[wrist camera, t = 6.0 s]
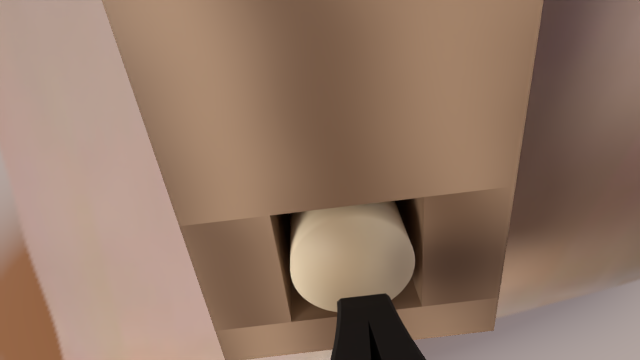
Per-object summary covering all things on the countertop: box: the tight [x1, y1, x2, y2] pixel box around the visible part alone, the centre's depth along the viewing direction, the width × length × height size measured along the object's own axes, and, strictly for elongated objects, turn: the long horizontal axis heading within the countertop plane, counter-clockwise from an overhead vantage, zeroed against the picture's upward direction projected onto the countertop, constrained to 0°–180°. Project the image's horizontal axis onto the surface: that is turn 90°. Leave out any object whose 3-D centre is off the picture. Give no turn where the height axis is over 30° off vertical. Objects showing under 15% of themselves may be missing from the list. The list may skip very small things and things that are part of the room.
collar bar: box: [102, 0, 544, 360], centre depth 13 cm, size 10×20×5 cm, turn 6°
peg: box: [290, 201, 415, 312], centre depth 16 cm, size 4×4×5 cm
